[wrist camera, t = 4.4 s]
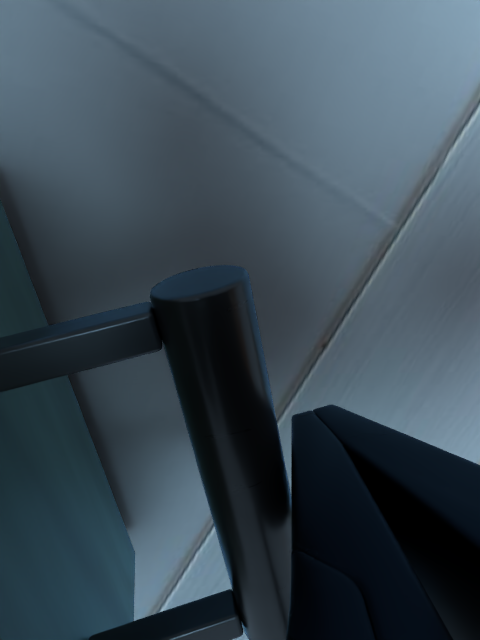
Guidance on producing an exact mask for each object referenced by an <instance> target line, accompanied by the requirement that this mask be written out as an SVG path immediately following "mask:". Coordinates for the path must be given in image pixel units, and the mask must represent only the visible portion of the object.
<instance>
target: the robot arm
mask: <svg viewBox="0 0 480 640" xmlns="http://www.w3.org/2000/svg"><path fill="white" fill-rule="evenodd" d="M291 549H292V552H291V588H290V608H289V617H288V626H287V634H286V640H480V465H478V464H476V463H473V462H471V461H469V460H466V459H464V458H461V457H459V456H456V455H454V454H452V453H449V452H447V451H444V450H442V449H440V448H437V447H435V446H432V445H430V444H427V443H425V442H423V441H420V440H418V439H415V438H413V437H410V436H408V435H406V434H403V433H401V432H398V431H396V430H394V429H391V428H389V427H386V426H384V425H381V424H379V423H377V422H374V421H372V420H369V419H367V418H365V417H362V416H360V415H357V414H355V413H352V412H350V411H348V410H345V409H343V408H340V407H338V406H335V405H327V406H324V407H320V408H317V409H314V410H313V411H306V412H303V413H299V414H296V415H293V416H292V487H291Z"/></svg>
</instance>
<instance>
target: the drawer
mask: <svg viewBox="0 0 480 640" xmlns="http://www.w3.org/2000/svg"><path fill="white" fill-rule="evenodd" d="M150 299H151V302H143V303H139V304H135V305H131V306H127V307H122V308H118V309H114V310H110V311H106V312H102V313H98V314H94V315H90V316H86V317H82V318H78V319H74V320H70V321H66V322H62V323H57V324H53V325H49V326H48V323H47V321H46V318H45V315H44V313H43V310H42V307H41V305H40V302H39V300H38V297H37V294H36V292H35V289H34V286H33V284H32V281H31V279H30V276H29V273H28V271H27V268H26V266H25V263H24V260H23V258H22V255H21V252H20V250H19V247H18V245H17V242H16V239H15V237H14V234H13V232H12V229H11V226H10V224H9V221H8V218H7V216H6V213H5V211H4V208H3V205H2V203H1V200H0V640H232V639H235V638H237V637H240V636H242V635H243V628H244V631H245V634H246V635H247V637H248V639H249V640H286V634H287V626H288V617H289V608H290V588H291V552H292V549H291V493H290V488H289V483H288V477H287V472H286V467H285V462H284V456H283V451H282V446H281V441H280V436H279V430H278V425H277V420H276V415H275V409H274V404H273V399H272V394H271V389H270V383H269V378H268V373H267V368H266V362H265V357H264V352H263V347H262V342H261V336H260V331H259V326H258V321H257V315H256V310H255V305H254V300H253V295H252V289H251V284H250V279H249V274H248V273H247V271H246V270H245V269H244V268H242V267H239V266H233V265H216V266H208V267H202V268H197V269H192V270H189V271H185V272H182V273H179V274H176V275H173V276H171V277H169V278H167V279H165V280H163V281H161V282H160V283H158V284H156V285H155V286H154V287H153V288H152V289H151V292H150ZM162 342H163V345H164V349H165V352H166V356H167V359H168V363H169V367H170V370H171V374H172V377H173V381H174V384H175V388H176V391H177V395H178V398H179V402H180V405H181V409H182V413H183V416H184V420H185V423H186V427H187V430H188V434H189V437H190V441H191V444H192V448H193V451H194V455H195V459H196V462H197V466H198V469H199V473H200V476H201V480H202V483H203V487H204V490H205V494H206V497H207V501H208V505H209V508H210V512H211V515H212V519H213V522H214V526H215V529H216V533H217V536H218V540H219V543H220V547H221V551H222V554H223V558H224V561H225V565H226V568H227V572H228V575H229V579H230V582H231V586H232V589H233V590H232V589H229V590H226V591H223V592H220V593H217V594H214V595H211V596H208V597H205V598H202V599H199V600H196V601H193V602H190V603H187V604H184V605H181V606H178V607H175V608H172V609H169V610H166V611H163V612H160V613H157V614H154V615H151V616H148V617H145V618H142V619H139V620H136V621H134V580H135V551H134V548H133V546H132V543H131V540H130V538H129V535H128V533H127V530H126V527H125V525H124V522H123V519H122V517H121V514H120V512H119V509H118V506H117V504H116V501H115V499H114V496H113V493H112V491H111V488H110V485H109V483H108V480H107V478H106V475H105V472H104V470H103V467H102V464H101V462H100V459H99V457H98V454H97V451H96V449H95V446H94V444H93V441H92V438H91V436H90V433H89V430H88V428H87V425H86V423H85V420H84V417H83V415H82V412H81V410H80V407H79V404H78V402H77V399H76V396H75V394H74V391H73V389H72V386H71V383H70V381H69V378H68V375H69V374H73V373H77V372H81V371H85V370H88V369H92V368H96V367H100V366H104V365H108V364H111V363H115V362H119V361H123V360H127V359H131V358H134V357H138V356H142V355H146V354H150V353H154V352H157V351H160V350H161V349H162ZM241 621H242V622H241ZM242 625H243V627H242Z"/></svg>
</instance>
